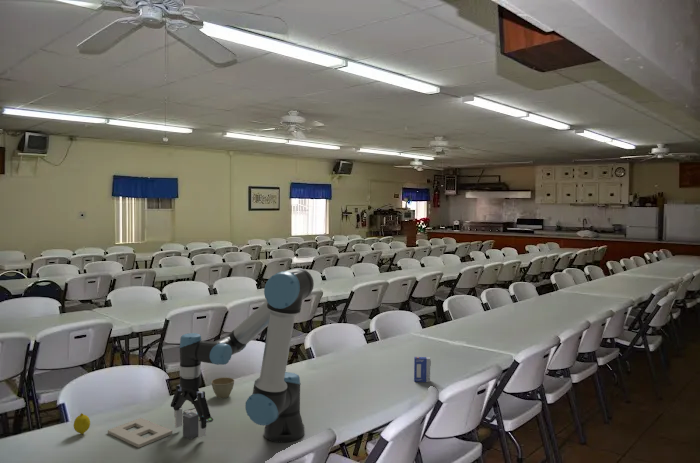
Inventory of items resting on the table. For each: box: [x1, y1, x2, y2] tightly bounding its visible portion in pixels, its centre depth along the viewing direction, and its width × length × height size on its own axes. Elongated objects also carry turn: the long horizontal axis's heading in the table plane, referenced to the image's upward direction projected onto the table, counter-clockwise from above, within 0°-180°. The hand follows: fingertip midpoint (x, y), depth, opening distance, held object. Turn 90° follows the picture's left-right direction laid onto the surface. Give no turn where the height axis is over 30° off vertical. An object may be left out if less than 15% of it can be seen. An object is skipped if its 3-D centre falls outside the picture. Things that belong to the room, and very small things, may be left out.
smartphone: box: [182, 407, 214, 424], centre depth 213 cm, size 7×1×15 cm
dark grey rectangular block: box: [182, 412, 199, 440], centre depth 195 cm, size 4×4×8 cm
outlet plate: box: [107, 417, 173, 448], centre depth 197 cm, size 20×14×1 cm
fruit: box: [73, 412, 91, 435], centre depth 196 cm, size 6×6×8 cm
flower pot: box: [211, 376, 235, 399], centre depth 235 cm, size 10×10×7 cm
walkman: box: [413, 356, 432, 383], centre depth 257 cm, size 8×3×12 cm, turn 86°
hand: (190, 431), depth 195 cm, fingers open, 13 cm apart
